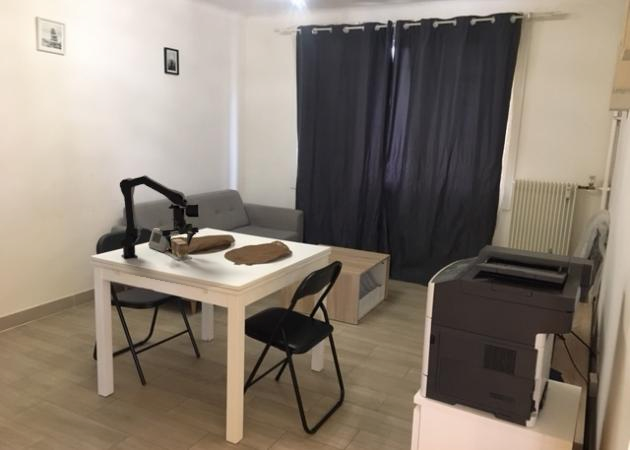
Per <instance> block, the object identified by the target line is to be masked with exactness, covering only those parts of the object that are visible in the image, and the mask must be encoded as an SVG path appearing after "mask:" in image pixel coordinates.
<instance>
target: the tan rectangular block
mask: <svg viewBox="0 0 630 450" xmlns="http://www.w3.org/2000/svg"><path fill="white" fill-rule="evenodd" d="M171 250H174V251H175V252H176V253H178V254H186V253H187V254H189V246H188V243H187V241H184V240H183V239H181V238H174V239H172V238H171Z"/></svg>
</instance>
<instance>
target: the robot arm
mask: <svg viewBox="0 0 630 450" xmlns="http://www.w3.org/2000/svg"><path fill="white" fill-rule="evenodd" d="M141 185H144V186H146V187H148V188H150V189H152V190H153V191H155V192H157V193H159V194H161V195H163V196H164V197H165V198H166V199H168V200H169V201H170V202H171V204H170V205H169V206H168V209H172V225H173V226H172V229H170V228H168V227H167V228H159V229H160V230H159V234H160V235H162V236H164V237H165V238H166V240H167V242H168V244H169V247H170V248H171V249H172V247H171V240H172V236H171V235H172V234H177V233H178V234H179V235H180V236H182V235H186V243H188V247H190V244H191V242H192V239H193V237H194V236H195V235H197V234H198V233H199V232H200V231H199V227H198V226H196V225H193V223H187V220H186V217H187V218H200V215H201V209H200V204H199V203H195V204H193V203H189V201H188V200H187V199H186V196H185V193H183V192H182V191H179V190H176V189H173V188H169V187H167V186H165V185H163V184H162V183H160V182H158V181H156V180H155V179H153V178H150V176H148V175H145V174H144V175H142V176H138V177H133V178H131V177H126V178H124V179H122V180H121V181H120V182H119V188H120V189H119V190H120V191H121V194H122V196H123V199H124V210H125V211H124V212H125V220H126V221H125V222H126V228H125V232H124V239H123V240H122V241H121V242H120V246H121V247H122V253H123V254H121V257H122V258H123V259H132V258H138V255H137V254H136V243H137V241H138V240H139V239H140V237H141V235H142V232H141V226H138V225H137V221H136V212H135V201H134V195H135V189H136V187H138V186H141ZM185 216H186V217H185ZM170 234H171V235H170Z"/></svg>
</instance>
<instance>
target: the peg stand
mask: <svg viewBox="0 0 630 450" xmlns="http://www.w3.org/2000/svg"><path fill="white" fill-rule="evenodd" d="M171 250H172V249H171ZM171 252H172V253H168V256H169V257H171V258H172V259H174V260H175V261H184V260H190V259H191V260H192V257H191V256H190V255H189V254H188V253H186V254H178V253H177V252H175V251H174V250H172V251H171Z"/></svg>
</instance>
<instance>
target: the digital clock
mask: <svg viewBox="0 0 630 450" xmlns="http://www.w3.org/2000/svg"><path fill="white" fill-rule="evenodd" d="M160 229H161V228H159V227H158V228H157V227H154V228H153V229H152V231H151V235H150V238H149V241H148V247H149V248H151V249H152V250H155V251H158V252H160V253H165V252H167V251H168V250H167V248H168V246H169V244H168V242H167V240H166V238H165V237H164V236H162V235H160V234H159V230H160ZM171 235H172V233H171V234H170V236H171Z"/></svg>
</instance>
